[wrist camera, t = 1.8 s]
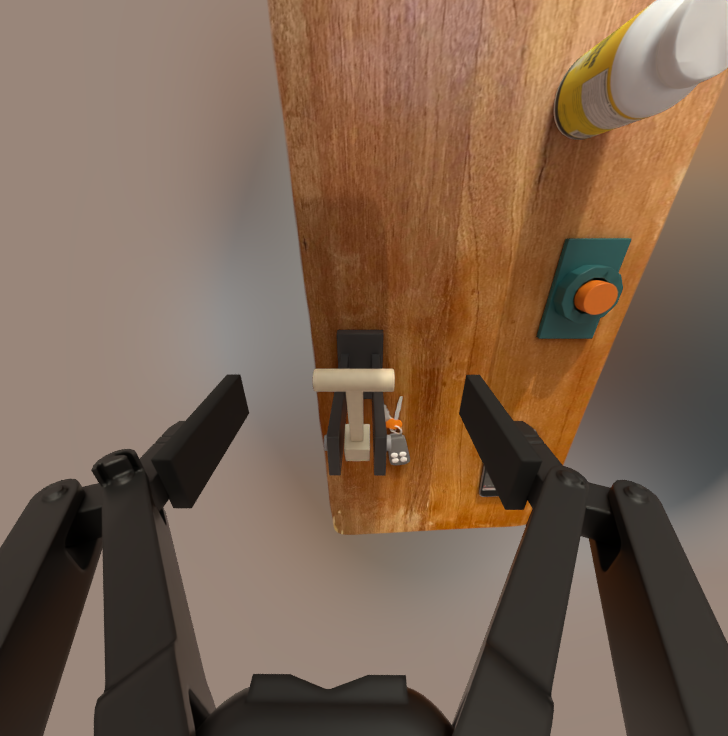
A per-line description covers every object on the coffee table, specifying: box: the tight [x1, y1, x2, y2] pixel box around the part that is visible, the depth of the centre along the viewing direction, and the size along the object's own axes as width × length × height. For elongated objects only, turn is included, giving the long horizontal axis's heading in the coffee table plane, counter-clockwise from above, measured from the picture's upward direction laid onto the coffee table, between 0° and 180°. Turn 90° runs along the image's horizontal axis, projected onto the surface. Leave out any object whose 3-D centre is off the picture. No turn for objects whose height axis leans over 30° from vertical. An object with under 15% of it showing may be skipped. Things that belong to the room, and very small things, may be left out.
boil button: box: [574, 280, 618, 315], centre depth 33 cm, size 4×4×2 cm
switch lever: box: [313, 369, 395, 461], centre depth 22 cm, size 12×5×2 cm, turn 0°
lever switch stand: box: [324, 330, 391, 475], centre depth 32 cm, size 10×6×18 cm, turn 0°
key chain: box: [384, 396, 410, 465], centre depth 45 cm, size 13×4×2 cm, turn 10°
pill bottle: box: [554, 0, 728, 140], centre depth 22 cm, size 6×6×12 cm
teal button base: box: [537, 238, 631, 339], centre depth 34 cm, size 12×7×2 cm, turn 0°
